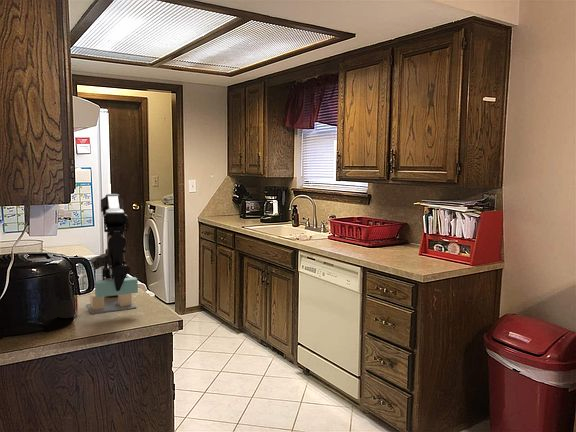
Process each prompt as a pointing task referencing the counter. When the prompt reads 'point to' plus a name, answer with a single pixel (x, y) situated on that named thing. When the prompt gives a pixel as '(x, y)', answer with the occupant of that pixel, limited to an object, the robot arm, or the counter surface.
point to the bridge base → (109, 304)
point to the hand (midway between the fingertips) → (116, 289)
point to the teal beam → (109, 288)
